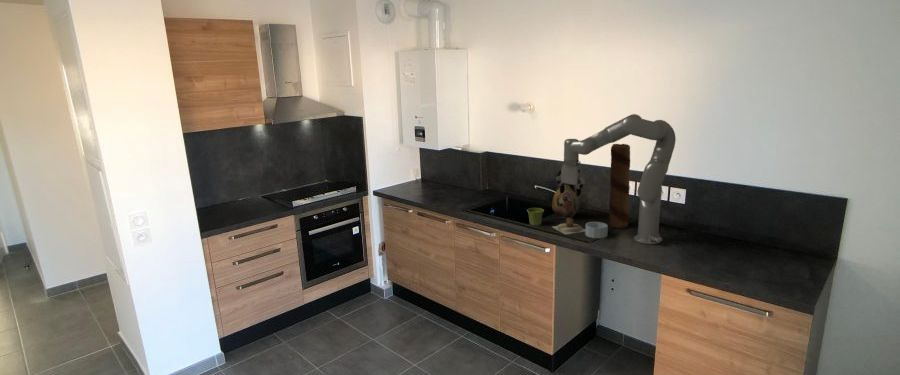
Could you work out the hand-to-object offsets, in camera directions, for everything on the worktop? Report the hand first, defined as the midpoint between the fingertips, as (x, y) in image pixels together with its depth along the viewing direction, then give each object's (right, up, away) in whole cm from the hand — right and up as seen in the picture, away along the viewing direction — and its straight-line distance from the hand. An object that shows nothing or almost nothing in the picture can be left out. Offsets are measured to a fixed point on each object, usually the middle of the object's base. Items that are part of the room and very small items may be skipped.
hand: (570, 194), depth 264 cm
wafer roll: (+29, -18, +10) cm, 35 cm away
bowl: (+12, -22, -6) cm, 25 cm away
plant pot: (-16, -18, +16) cm, 28 cm away
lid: (+1, -19, +4) cm, 19 cm away
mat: (+1, -19, +5) cm, 20 cm away
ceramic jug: (+4, -14, +27) cm, 31 cm away
